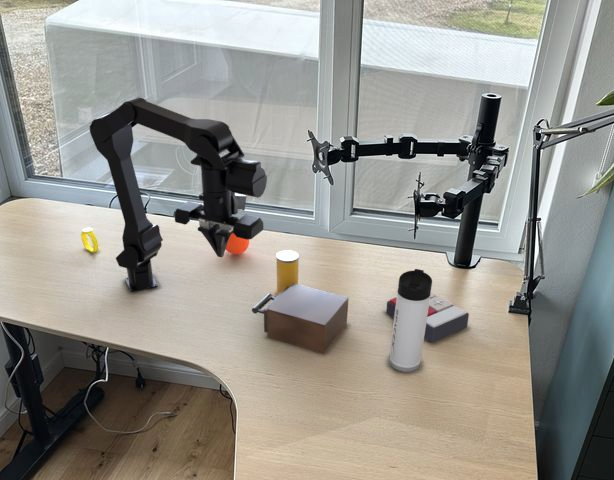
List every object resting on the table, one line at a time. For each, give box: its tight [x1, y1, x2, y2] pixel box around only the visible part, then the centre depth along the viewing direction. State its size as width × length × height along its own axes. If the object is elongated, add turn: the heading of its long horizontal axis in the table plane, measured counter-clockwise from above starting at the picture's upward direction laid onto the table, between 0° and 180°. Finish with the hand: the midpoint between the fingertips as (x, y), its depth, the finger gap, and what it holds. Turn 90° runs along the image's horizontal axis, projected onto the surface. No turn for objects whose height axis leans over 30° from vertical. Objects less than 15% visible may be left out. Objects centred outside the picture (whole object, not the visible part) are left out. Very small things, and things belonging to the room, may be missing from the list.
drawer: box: [251, 286, 289, 334], centre depth 142 cm, size 16×11×6 cm
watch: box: [80, 227, 100, 254], centre depth 169 cm, size 6×3×6 cm, turn 45°
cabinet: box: [267, 283, 349, 355], centre depth 140 cm, size 13×12×7 cm
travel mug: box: [388, 268, 433, 373], centre depth 128 cm, size 6×7×20 cm
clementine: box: [225, 233, 250, 255], centre depth 170 cm, size 8×7×7 cm
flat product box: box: [385, 292, 470, 344], centre depth 146 cm, size 11×4×15 cm
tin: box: [275, 249, 300, 297], centre depth 152 cm, size 5×5×10 cm
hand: (220, 256), depth 142 cm, fingers closed
